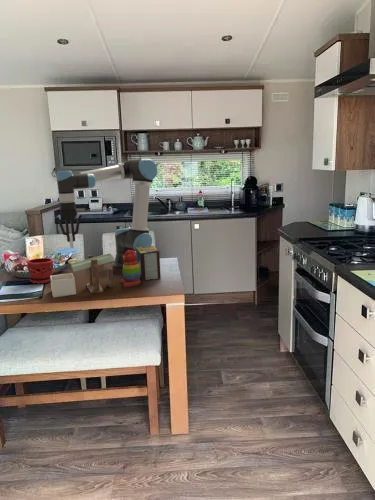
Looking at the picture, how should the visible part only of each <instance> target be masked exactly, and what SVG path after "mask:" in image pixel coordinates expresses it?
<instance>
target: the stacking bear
mask: <svg viewBox="0 0 375 500" xmlns="http://www.w3.org/2000/svg"><path fill="white" fill-rule="evenodd" d="M122 258H123V260H124V261H125V262H124V264H123V268H122V270H121V271H122V276H123V278H122V279H120V281H119V282H120V284H123V287H125V288H130V286H131V287H135V286H138V285H140V284H142V283H141V282H142V280H141V278H140V273H141V271H140V266H139V263H138V262H137V261H136V258H137V254H136V251H133V250H128V251H126V252H125V253H124V255H123V257H122Z"/></svg>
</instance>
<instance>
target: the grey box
mask: <svg viewBox="0 0 375 500" xmlns="http://www.w3.org/2000/svg"><path fill="white" fill-rule="evenodd" d="M75 279H76V278H75V276H74V274H73V273H72V272H70V273H69V272H68V273H60V274H54V275H53V274H52V275H51V276H50V280H51V281H50V287H51V294H52V297H53V298H59V297H66V296H73V295H77V291H76V280H75Z"/></svg>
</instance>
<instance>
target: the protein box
mask: <svg viewBox="0 0 375 500" xmlns="http://www.w3.org/2000/svg"><path fill="white" fill-rule="evenodd" d="M135 252H136V254H137V258H136V261H137V262H138V263H139V266H140V271H141V273H140V280H141V279H142V280H145V281H151V280H150V279H153V280H159V279H158V278H162V277H161V276H162V275H161V258H160V257H161V255H160V253H161V252H160V250H158V248H156V247H155V246H154V245H151V246H148V247H136V251H135ZM142 280H141V281H142Z"/></svg>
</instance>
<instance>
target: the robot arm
mask: <svg viewBox="0 0 375 500" xmlns="http://www.w3.org/2000/svg"><path fill="white" fill-rule="evenodd" d="M157 175H158V166H157V164H156V163H155V161H154V160H152V159H151V158H135V159H128V160H126V161H123V162H118V163H116V164H115V165H110V166H106V167H100V168H96V169H89V170H85V171H79V172H75V173H73V171H72V170H69V169H68V170H57V172H56V183H57V189H58V190H57V191H58V200H59V201H58V202H59V214H58V215H57V216H55V220H57V222H58V224H59V226H60V227H59V228H60V230H61V232H62V234H63V236H66V241H67V243H69V247H70V249H74V248H75V246H74V242H76V235H77V234H79V229H80V222H81V219H82V218H83V215H82V214H79V213H78V211H77V210H76V209H77V208H76V207H77V206H76V202H75V201H76V200H75V199H76V198H75V197H76V195H75V190H82V189H83V190H85V189H92V188H94V187H96V184H99V183H102V182H104V183H105V182H107V181H108V182H109V181H112V180H117V179H118V180H120V181H121V180H127V179H128V180H132V182H133V184H134V193H133V194H134V195H133V196H134V197H133V207H132V208H133V209H132V226H130V227H126V228H119V229H116V230H115V231H114V233H115V234H114V238H115V239H114V240H115V258H114V261H113V266H114V267H115V268H120V269H121V268H122V269H123V264H124V262H125V261H124V260H123V258H122V257H123V255H124V253H125V252H126V251H128V250H133V251H135V252H136V247H148V246H153V238H152V235H151V234H150V229H149V228H148V215H149V214H148V213H149V203H150V202H149V199H150V187H151V186H152V184H153V181H154V179H156V177H157ZM75 218H76V224H74V219H75ZM62 219H63V220H64V223H65V228H64V224H63V223H62ZM69 221H70V222H69ZM69 223H70V226H69ZM74 225H75V226H74ZM70 229H71V234H70Z"/></svg>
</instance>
